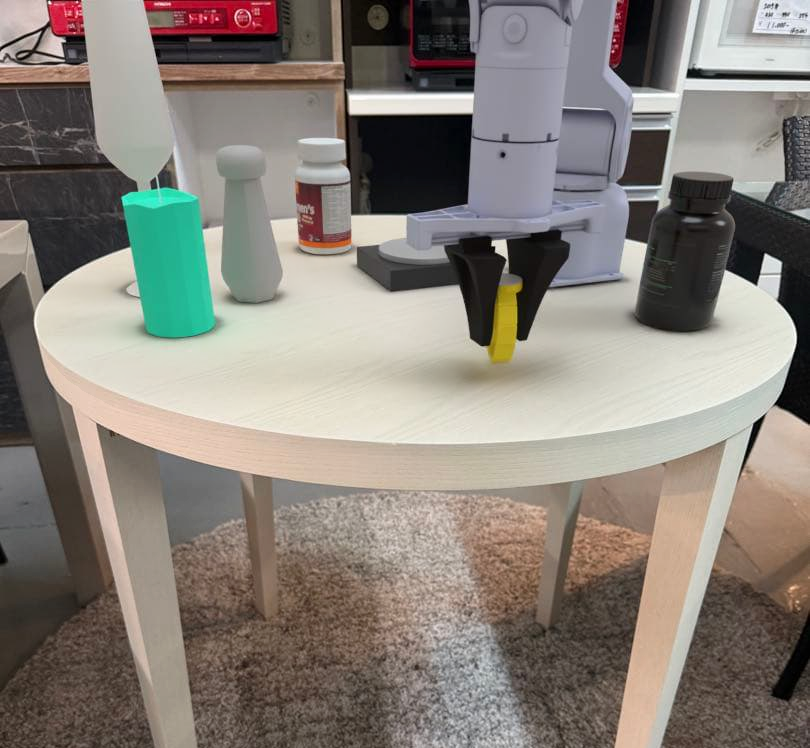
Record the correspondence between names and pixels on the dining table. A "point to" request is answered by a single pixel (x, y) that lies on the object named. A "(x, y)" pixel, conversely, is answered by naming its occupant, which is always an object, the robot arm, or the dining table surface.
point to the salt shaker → (247, 227)
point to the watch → (505, 319)
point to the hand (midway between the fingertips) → (498, 339)
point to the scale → (406, 265)
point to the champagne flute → (127, 91)
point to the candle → (169, 261)
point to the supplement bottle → (687, 253)
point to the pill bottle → (323, 197)
